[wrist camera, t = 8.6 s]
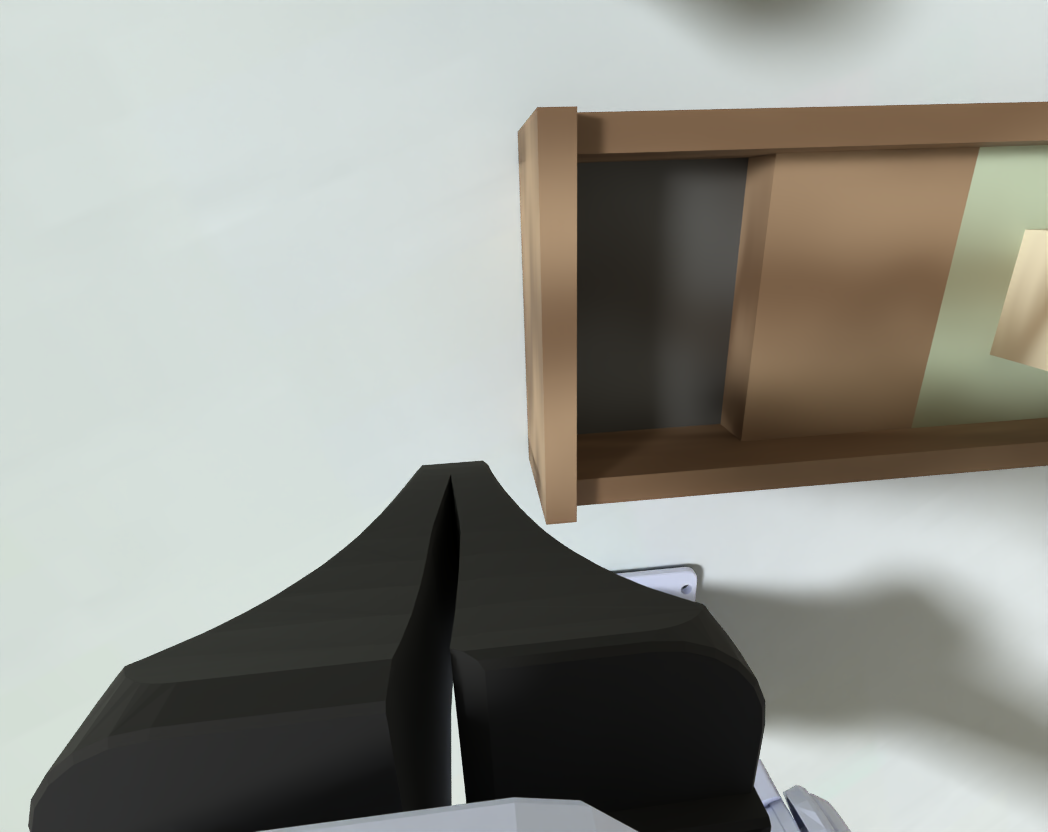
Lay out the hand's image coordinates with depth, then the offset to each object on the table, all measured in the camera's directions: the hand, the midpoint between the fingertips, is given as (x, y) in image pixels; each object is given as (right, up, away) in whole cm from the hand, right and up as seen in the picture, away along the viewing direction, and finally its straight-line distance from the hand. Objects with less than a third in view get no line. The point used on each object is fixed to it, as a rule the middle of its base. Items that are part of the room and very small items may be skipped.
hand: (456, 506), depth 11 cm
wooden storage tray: (+13, +7, +10) cm, 18 cm away
